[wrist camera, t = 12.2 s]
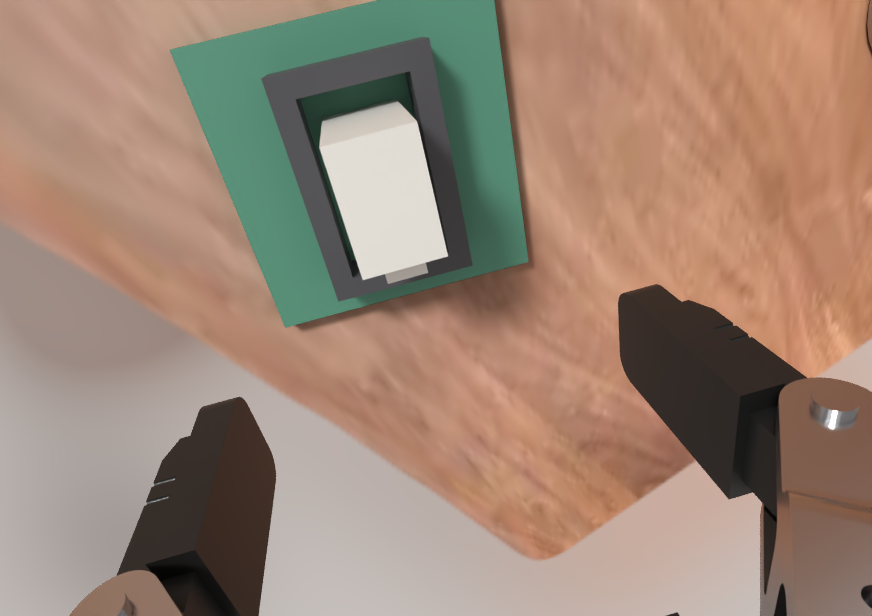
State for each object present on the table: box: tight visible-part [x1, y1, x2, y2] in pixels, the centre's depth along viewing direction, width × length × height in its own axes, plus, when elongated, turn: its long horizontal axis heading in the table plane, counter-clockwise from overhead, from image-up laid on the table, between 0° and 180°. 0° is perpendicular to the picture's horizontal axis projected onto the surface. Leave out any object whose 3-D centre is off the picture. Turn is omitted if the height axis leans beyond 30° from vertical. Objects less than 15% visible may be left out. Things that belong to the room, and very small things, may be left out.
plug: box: [319, 99, 448, 284], centre depth 26 cm, size 4×7×8 cm, turn 13°
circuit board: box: [170, 0, 529, 328], centre depth 29 cm, size 16×16×4 cm
